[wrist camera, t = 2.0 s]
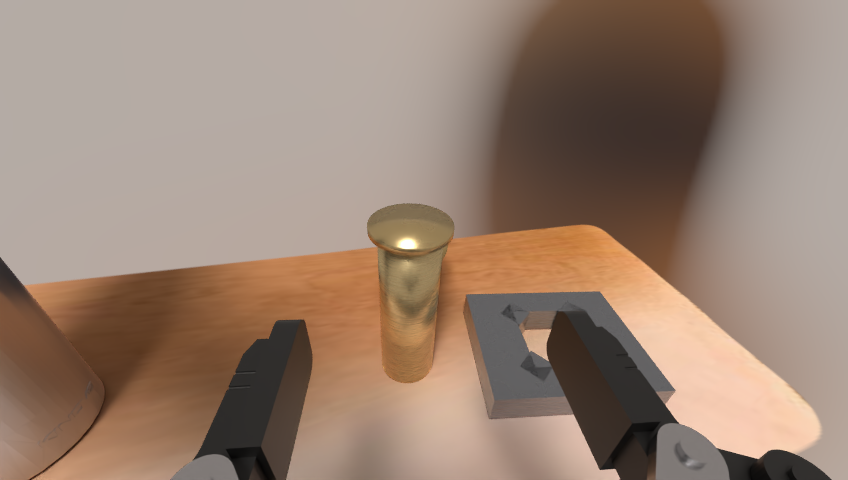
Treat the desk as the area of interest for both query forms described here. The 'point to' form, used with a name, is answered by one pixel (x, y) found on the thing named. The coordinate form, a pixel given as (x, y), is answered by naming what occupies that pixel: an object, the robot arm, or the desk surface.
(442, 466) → the desk surface
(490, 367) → the jig
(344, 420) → the desk surface
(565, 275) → the desk surface
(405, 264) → the rivet
